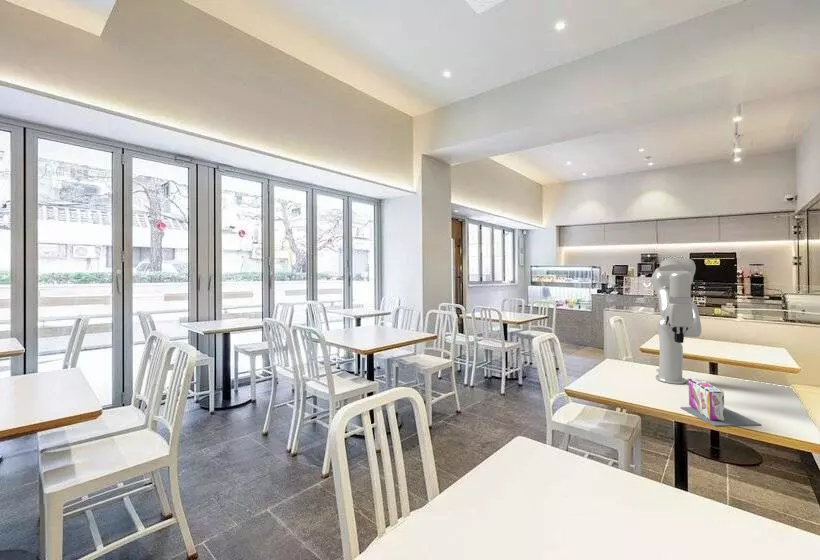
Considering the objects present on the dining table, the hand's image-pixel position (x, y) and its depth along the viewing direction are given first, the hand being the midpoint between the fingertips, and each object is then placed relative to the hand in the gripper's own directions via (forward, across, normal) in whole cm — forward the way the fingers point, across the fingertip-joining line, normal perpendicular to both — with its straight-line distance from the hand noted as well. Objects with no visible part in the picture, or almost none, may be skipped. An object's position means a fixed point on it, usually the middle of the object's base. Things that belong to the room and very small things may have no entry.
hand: (678, 342), depth 166 cm
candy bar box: (+18, +2, +12) cm, 21 cm away
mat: (+23, +1, +23) cm, 33 cm away
